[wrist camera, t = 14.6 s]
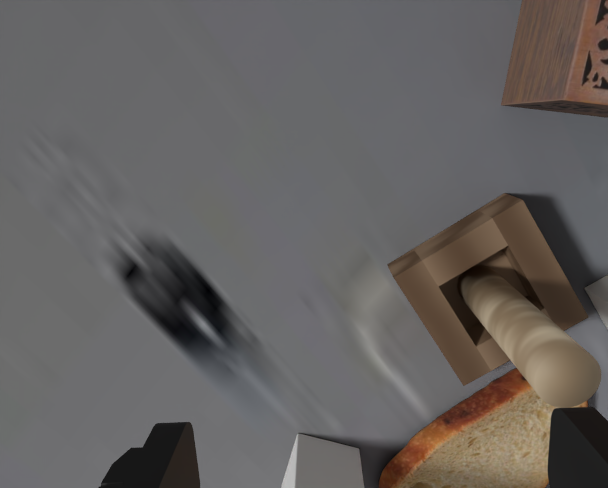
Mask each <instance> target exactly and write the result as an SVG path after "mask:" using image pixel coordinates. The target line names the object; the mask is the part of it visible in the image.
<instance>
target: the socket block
mask: <svg viewBox="0 0 608 488" xmlns="http://www.w3.org/2000/svg"><path fill="white" fill-rule="evenodd" d="M476 265H485V266H488V267H490V268H492V269H493V270H494V271H496V272H497V273H498V274H499V275H500V276H501V277H502V278H504V279H505V280H506V281H507V282H508V283H509V284H510V285H512V286H513V287H514V288H515V289H516V290H517V291H518V292H520V293H521V294H522V295H523V296H524V297H525V298H526V299H528V300H529V301H530V302H531V303H532V304H533V305H534V306H536V307H537V308H538V309H539V310H540V311H541V312H542V313H544V314H545V315H546V316H547V317H548V318H549V319H550V320H552V321H553V322H554V323H555V324H556V325H557V326H558V327H560V328H561V329H562V330H563V331H564V330H566V329H568V328H570V327H572V326H573V325H575V324H577V323H579V322H581V321H583V320H584V319H586V318H588V315H587V313H586V311H585V310H584V308H583V306H582V304H581V303H580V301H579V299H578V297H577V295H576V294H575V292H574V290H573V288H572V287H571V285H570V283H569V281H568V279H567V278H566V276H565V274H564V272H563V271H562V269H561V267H560V265H559V263H558V262H557V260H556V258H555V256H554V255H553V253H552V251H551V249H550V247H549V246H548V244H547V242H546V240H545V239H544V237H543V235H542V233H541V231H540V230H539V228H538V226H537V224H536V223H535V221H534V219H533V217H532V216H531V214H530V212H529V210H528V208H527V207H526V205H525V203H524V201H523V200H522V199H519V198H517V197H514V196H511V195H509V194H506V193H504V194H502V195H501V196H499V197H498V198H496V199H494V200H493V201H491V202H489V203H488V204H486V205H484V206H483V207H481V208H480V209H478V210H476V211H475V212H473V213H471V214H470V215H468V216H466V217H465V218H463V219H461V220H460V221H458V222H457V223H455V224H453V225H452V226H450V227H448V228H447V229H445V230H443V231H442V232H440V233H438V234H437V235H435V236H434V237H432V238H430V239H429V240H427V241H425V242H424V243H422V244H420V245H419V246H417V247H416V248H414V249H412V250H411V251H409V252H407V253H406V254H404V255H402V256H401V257H399V258H397V259H396V260H394V261H393V262H391V263H389V264H388V267H389V269H390V271H391V273H392V275H393V277H394V279H395V280H396V282H397V284H398V285H399V287H400V288H401V290H402V291H403V293H404V294H405V296H406V297H407V299H408V301H409V302H410V304H411V305H412V307H413V308H414V310H415V311H416V313H417V314H418V316H419V318H420V319H421V321H422V322H423V324H424V325H425V327H426V328H427V330H428V331H429V333H430V335H431V336H432V338H433V339H434V341H435V342H436V344H437V345H438V347H439V348H440V350H441V352H442V353H443V355H444V356H445V358H446V359H447V361H448V362H449V364H450V365H451V367H452V369H453V370H454V372H455V373H456V375H457V376H458V378H459V379H460V381H461V382H462V384H463V386H464V385H466V384H468V383H470V382H472V381H474V380H475V379H477V378H479V377H481V376H483V375H484V374H486V373H488V372H490V371H492V370H494V369H495V368H497V367H499V366H501V365H503V364H504V363H506V362H508V361H510V359H509V357H508V356H507V355H506V354H505V352H504V351H503V350H502V349H501V347H500V346H499V345H498V344H497V342H496V341H495V340H494V338H493V337H492V336H491V335H490V333H489V332H488V331H487V330H486V328H485V327H484V326H483V325H482V323H481V322H480V321H479V319H478V318H477V317H476V316H475V314H474V313H473V312H472V311H471V309H470V308H469V307H468V306H467V304H466V303H465V302H464V301H463V299H462V298H461V297H460V295H459V293H458V289H457V284H458V280H459V278H460V276H461V275H462V273H463V272H464V271H466V270H468V269H469V268H471V267H473V266H476Z"/></svg>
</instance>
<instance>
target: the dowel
mask: <svg viewBox="0 0 608 488" xmlns="http://www.w3.org/2000/svg"><path fill="white" fill-rule="evenodd" d="M457 289H458V293H459V295H460V297H461V298H462V299H463V301H464V302H465V303H466V304H467V306H468V307H469V308H470V309H471V311H472V312H473V313H474V314H475V316H476V317H477V318H478V319H479V321H480V322H481V323H482V325H483V326H484V327H485V328H486V330H487V331H488V332H489V333H490V335H491V336H492V337H493V338H494V340H495V341H496V342H497V344H498V345H499V346H500V347H501V349H502V350H503V351H504V352H505V354H506V355H507V356H508V357H509V359H510V360H511V361H512V363H513V364H514V365H515V366H516V368H517V369H518V370H519V371H520V373H521V374H522V375H523V376H524V378H525V379H526V380H527V381H528V383H529V384H530V385H531V387H532V388H533V389H534V390H535V392H536V393H537V394H538V395H539V397H540V398H541V399H542V400H543V401H544V402H546V403H547V404H549V405H551V406H554V407H559V408H569V407H574V406H577V405H580V404H582V403H584V402H585V401H587V400H588V399H589V398H591V397H592V396H593V394H594V393H595V392H596V390H597V389H598V387H599V384H600V381H601V369H600V366H599V364H598V362H597V361H596V359H595V358H594V357H593V356H591V355H590V354H589V353H588V352H587V351H586V350H585V349H583V348H582V347H581V346H580V345H579V344H578V343H577V342H575V341H574V340H573V339H572V338H571V337H570V336H569V335H567V334H566V333H565V332H564V331H563V330H562V329H561V328H560V327H558V326H557V325H556V324H555V323H554V322H553V321H552V320H550V319H549V318H548V317H547V316H546V315H545V314H544V313H542V312H541V311H540V310H539V309H538V308H537V307H536V306H534V305H533V304H532V303H531V302H530V301H529V300H528V299H526V298H525V297H524V296H523V295H522V294H521V293H520V292H518V291H517V290H516V289H515V288H514V287H513V286H512V285H510V284H509V283H508V282H507V281H506V280H505V279H504V278H502V277H501V276H500V275H499V274H498V273H497V272H496V271H494V270H493V269H492V268H490V267H488V266H485V265H476V266H473V267H471V268H469V269H468V270H466V271H464V272H463V273H462V275H461V276H460V278H459V280H458V284H457Z"/></svg>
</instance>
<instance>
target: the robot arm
mask: <svg viewBox="0 0 608 488" xmlns="http://www.w3.org/2000/svg"><path fill="white" fill-rule="evenodd" d="M548 480H549V484H550V488H608V421H607V420H606V419H605V418H604V417H603V416H602V415H601V414H600V413H599V412H598V411H597V410H596V409H595V408H593V407H573V408H556V409H554V410H553V412H552V415H551V424H550V439H549V453H548ZM99 488H200V479H199V471H198V463H197V456H196V448H195V441H194V433H193V428H192V425H191V423H190V422H178V423H157V424H156V425H155V426H154V427H153V429H152V431H151V433H150V435H149V437H148V438H147V440H146V442H145V444H144V446H143V448H130V449H129V450H128V451H127V452H126V453H125V454H124V455H122V456H121V457H120V458H119V459H118V460H117V461H116V462H114V463H113V464H112V466H111V467H110V469H109V471H108V472H107V474H106V476H105V478H104V479H103V481H102V483H101V487H99Z"/></svg>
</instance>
